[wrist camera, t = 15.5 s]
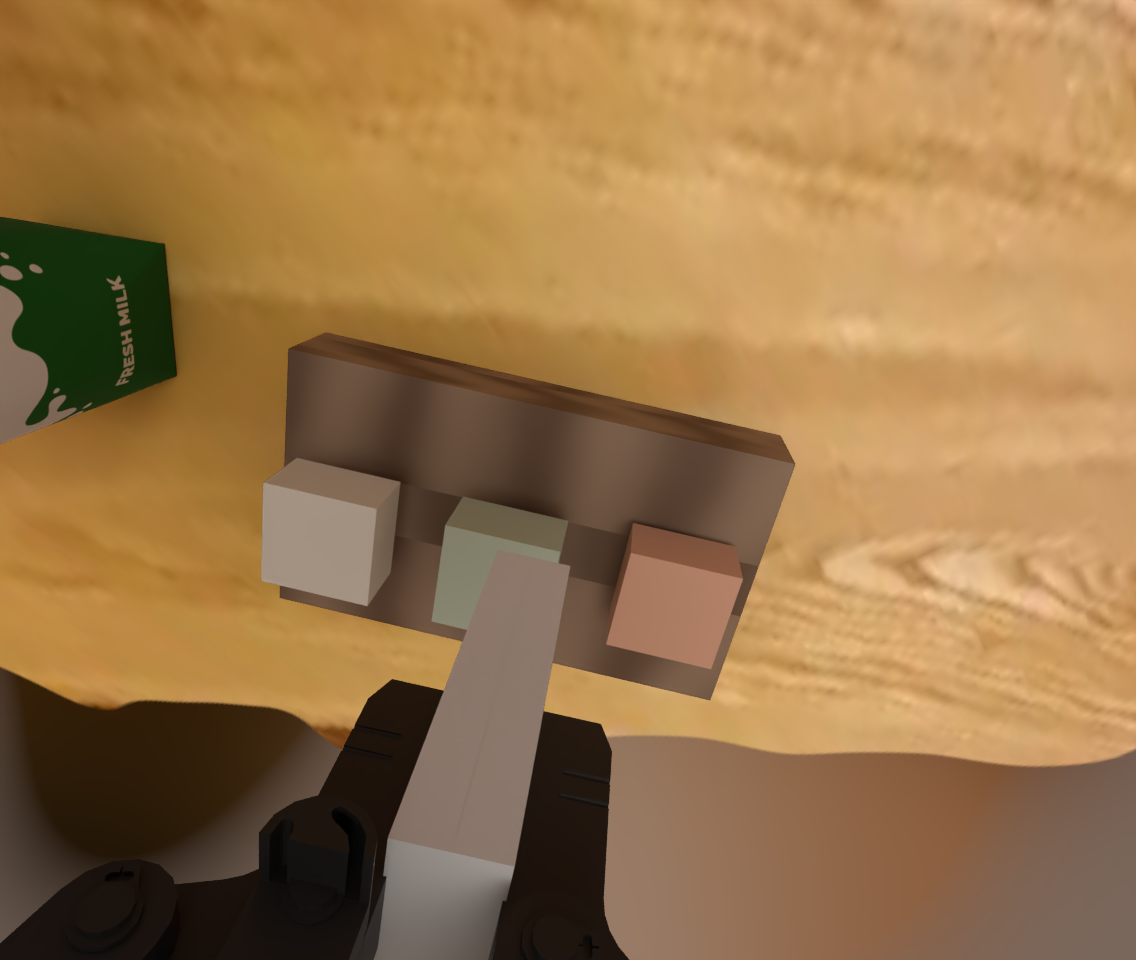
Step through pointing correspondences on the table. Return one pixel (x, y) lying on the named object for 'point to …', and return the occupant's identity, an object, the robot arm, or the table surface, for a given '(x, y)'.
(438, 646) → the table surface
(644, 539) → the terracotta key
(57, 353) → the milk carton
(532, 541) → the sage key
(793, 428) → the table surface
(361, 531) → the cream key
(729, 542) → the key panel
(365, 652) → the table surface
